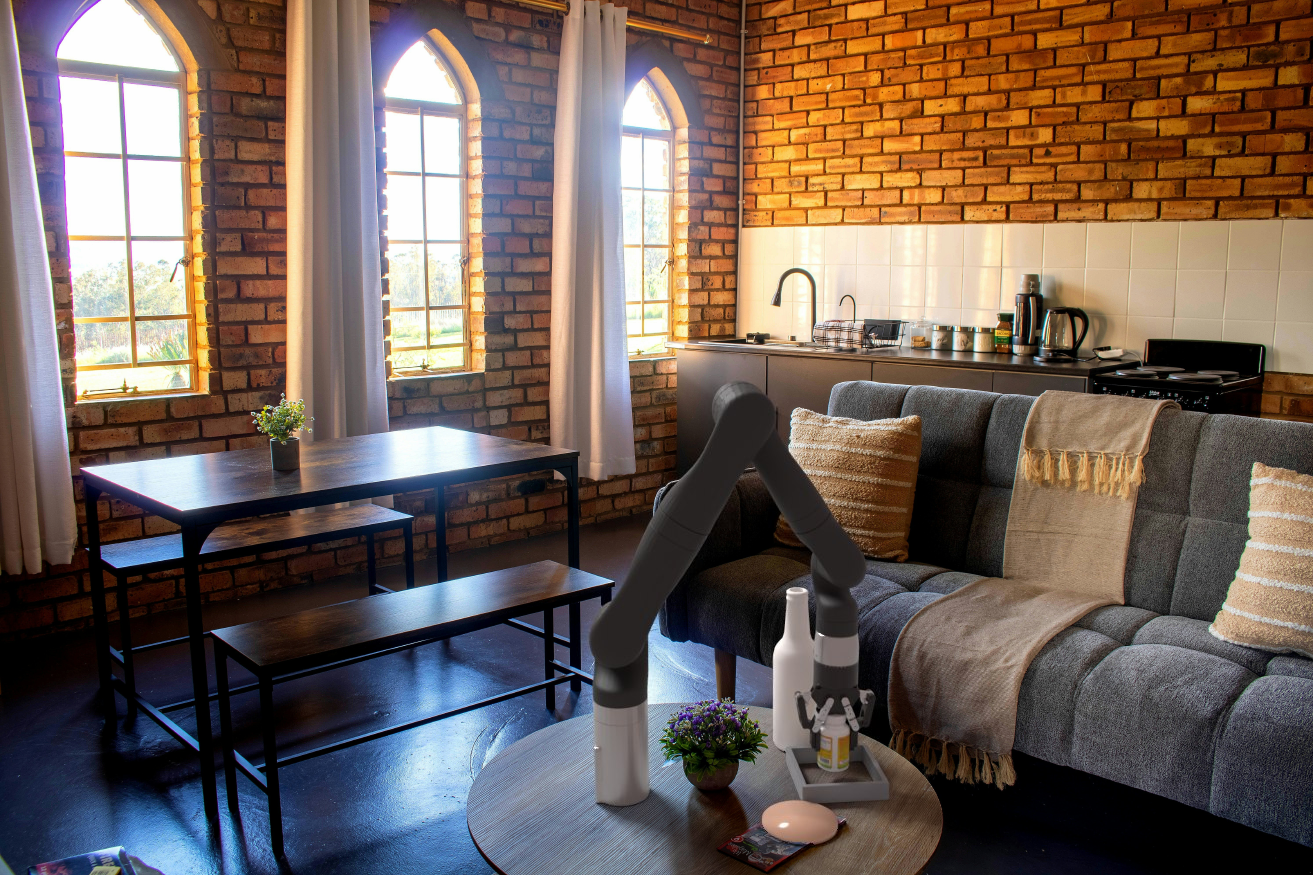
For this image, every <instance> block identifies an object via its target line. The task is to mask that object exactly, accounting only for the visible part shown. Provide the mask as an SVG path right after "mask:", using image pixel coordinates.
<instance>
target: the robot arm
mask: <svg viewBox="0 0 1313 875" xmlns="http://www.w3.org/2000/svg"><path fill="white" fill-rule="evenodd" d="M711 412H712V413H711V414H712V419H713V421H714V423H715V426H714V428H713V431H712V432H711V435H710V437H709V439H708V441H707V443H706V445H705V447H704V449H703V451H702V452H701V454H700V457H699V458H698V459H697V460H696V462H695V463H694V464H693V466H692V467H691V468H690V469H688V471H687V472H686V473H685V474H684V475H683V476H682V477H681V478H680V479H679V480H678V481H677V482H676V483H675V484H674V485H673V486H672V487H671V488H670V490H669V491H668V492H667V493H666V495H665V496H664V497H663V499H662V500H661V502H660V503H659V505H658V507H657V508H656V510H655V511H654V514H653V516H652V518H651V519H650V521H649V522H648V525H647V527H646V529H645V531H644V534H643V535H642V538H641V539H640V542H639V544H638V546H637V549H636V552H635V554H634V556H633V559H632V562H631V565H630V567H629V569H628V572H627V574H626V577H625V579H624V581H623V583H622V584H621V586H620V588H619V589H618V591H617V592H616V593H615V595H614V596H613V598H612V599H611V600H610V601H608V602H607V603H605V604H603V605H602V606H601V607H600V608H599V609H598V611H597V613H596V614H595V616H594V618H593V621H592V623H591V626H590V629H589V634H588V645H589V646H588V647H589V649H590V652H591V655H592V657H593V658H594V664H593V665H594V666H593V678H592V707H593V708H592V709H593V710H592V711H593V755H594V756H593V757H594V758H593V759H594V760H593V761H594V792H595V794H594V795H595V803H603V804H606V805H609V806H614V807H615V806H617V807H627V806H632V805H636V804H638V803H641V802H643V801H644V800H646V799H647V798H648V796H649V795H650V792H651V791H650V753H649V752H650V751H649V749H650V747H649V743H650V742H649V738H650V737H649V702H648V701H649V698H648V696H649V694H648V693H649V692H648V691H649V690H648V688H649V686H648V685H649V669H650V668H649V634H650V632H651V630H652V627H653V624H654V623H655V621H656V620H657V616H658V615H659V613H660V611H661V609H662V606H663V605H664V603H665V602H666V600H667V599H668V597H669V595H671V593H672V592H673V590H674V589H675V587H676V586H677V585H678V583H679V582H680V581H681V579H682V578H683V576H684V575H685V573H686V572H687V570H688V569H689V567H690V565H691V564H692V562H693V561H694V560H695V558H696V557H697V555H698V553H699V552H700V550H701V548H702V547H703V545H704V543H705V542H706V540H707V539H708V538H707V537H708V536H709V534H710V533H711V531H712V529H713V527H714V525H715V523H716V521H717V520H718V519H719V517H720V514H721V513H722V511H723V509H724V507H725V505H726V504H727V502H728V500H729V498H730V496H731V495H732V493H733V490H734V488H735V487H736V485H737V483H738V482H739V480H740V478H741V477H742V475H743V474H744V473H745V471H746V470H747V468H748V466H749V465H750V464H752V465H753V467H754V470H756V472H757V474H758V476H760V478H761V480H762V481H763V483H764V485H765V487H766V488H767V490H768V492H769V494H770V496H771V498H772V499H773V501H774V503H775V505H776V506H777V508H778V509H779V512H780V513H781V515H782V516H783V517H784V519H785V521H786V522H787V524H788V525H789V527H790V528H791V530H792V532H793V533H794V534H795V536H796V538H798V540H799V541H800V542H802V543H803V544H804V545H805V546H806V547H807V548H808V549H809V550H810V551H811V552H812V555H811V557H810V558H811V559H810V572H811V573H810V574H811V575H810V576H811V580H812V586H813V587H812V588H813V593H814V598H815V601H816V602H815V604H816V612H815V614H816V618H815V634H814V639H813V641H814V649H813V654H814V668H813V686H812V688H811V690H810V691H809V692H804V693H801V692H800V691H796V692H795V700H796V706H797V711H798V716H799V721H800V723H801V725H802V728H803V729H809V730H810V745H811V747H812V749H814V750H815V752H819V751H820V731H819V729H820V727H821V725H822V723H823V722H824V721H825V719H826V717H827V715H832V714H845V713H846V720H847V721H848V724H849V725H848V726H849V729H850V741H849V751H854V747H857V745H858V743H859V742H858V741H859V730H860V729H861V728H869V726H870V725H871V722H872V716H873V713H874V712H873V711H874V709H875V708H874V707H875V703H876V699H877V698H876V695H875V693H874V692H873V691H872V690H871V689H869V688H867V689H866V690H863V689H860V688H859V687H858V685H859V654H860V652H859V651H860V644H859V642H860V641H859V633H858V632H859V606H858V603H857V601H856V599H855V598H854V596H853V595H852V593H851V589H853V588H856V587H857V586H859V585H860V584H861V583H862V582H863V581H864V579H865V577H866V575H867V567H868V566H867V561H866V558H865V555H864V553H863V552H862V550H861V548H860V547H859V546H858V545H857V544H856V542H855V540H853V539H852V537H851V536H850V535H849V534H848V533H847V531H846V530H845V529H844V528H843V526H841V525H840V523H839V522H838V520H836V518H835V516H834V514H833V512H832V511H831V509H830V507H829V506H828V504H827V503H826V501H825V499H824V498H823V496H822V495H821V493H820V492H819V490H818V489H817V488H816V486H815V485H814V483H813V481H812V480H811V479H810V477H809V476H808V475H807V473H806V472H805V470H804V469H803V468H802V467H801V465H800V464H799V463H798V462H797V460H796V459H795V458H794V456H793V455H792V453H791V452H790V451H789V449H788V447H787V445H786V444H785V443H784V441H783V439H782V437H781V436H780V434H779V432H778V430H777V429H776V426H775V425H776V421H777V412H776V407H775V404H774V402H773V401H772V400H771V398H770V397H769V396H768V395H767V394H766V393H765V392H764V391H763V390H762V389H761V388H760V387H758V386H757V385H755V384H753V383H751V382H748V381H745V380H744V381H743V380H733V381H730V382H727V383H726V384H725V383H724V385H722V386H721V387H720V388H719V389H718V390H717V392H715V395H713V399H712V404H711ZM811 698H812V699H813V700H814V701H815V703H816V706H815V708H814V712H813V715H812V718H811V720H810V719H808V717H807V712H806V706H807V705H808V704H809V700H810V699H811ZM859 698H860V701H861V703H862V704H861V707H860V713H859V716H858V717H857V718H856V715H855V712H854V710H853V706H854V705H855V703H856V702H857V701H858V699H859Z"/></svg>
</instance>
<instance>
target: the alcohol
mask: <svg viewBox="0 0 1313 875" xmlns="http://www.w3.org/2000/svg"><path fill="white" fill-rule="evenodd" d="M785 597H786V608H785V610H786V611H785V624H784V633H783V636H782V638H781V639H780V640H779V641H778V642H777V643H776V645H775V647H774V651H773V655H772V668H773V669H772V686H773V687H772V740H773V743H774V745H775V746H776V748H777V749H778V750H780V751H782V752H784V751H785V753H786V747H788V746H810V730H809V729H803V728H802V725H801V723H800V721H799V716H798V711H797V706H796V700H795V692H796V691H800V692H801V693H804V692H809V691H810V690H811V688H812V686H813V668H814V654H813V649H814V639H813V638H812V635H811V630H810V617H809V616H810V615H809V602H808V601H809V590H808V589H807V588H804V587H799V586H798V587H797V586H795V587H790V588H788V589H786V596H785ZM815 706H816V703H815V701H814V700H813V699H812V698H811V699H810V700H809V704H808V705H807V706H806V712H807V717H808V719H810V720H811V718H812V715H813V712H814V708H815Z"/></svg>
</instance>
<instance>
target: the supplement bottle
mask: <svg viewBox="0 0 1313 875" xmlns="http://www.w3.org/2000/svg"><path fill="white" fill-rule="evenodd" d="M846 721H847V717H846V713H845V714H832V715H827V717H826V719H825V721H824V722H823V723H822V725H821V727H820V729H819V731H820V751H819V752H818V763H817V765H818V767H819V768H820V769H822V770H824V771H826V772H830V773H836V772H837V773H840V772H843V771H845V770H847V769H848V768H849V765H850V761H849V741H850V729H849V725H848V723H846Z"/></svg>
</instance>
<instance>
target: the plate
mask: <svg viewBox="0 0 1313 875" xmlns="http://www.w3.org/2000/svg"><path fill="white" fill-rule="evenodd" d="M761 825H763V826H762V828H763V827H764V828H763V830H764V829H765V830H766V831H767V832H768V833H770V834H771V835H772V836H775V837H777V838H779V839H781V840H785V841H790V842H791V841H792V842H802V843H805V842H811V843H813V844H814V845H818V844H822V843H824V842H827V841H829V840H831V839H832V838H834V836H836V835H837V832H838V830H839V829H838V828H839V821H838V818H837V815H836V814H835V813H834V811H832V810H831V809H829V808H828V807H826V806H824V805H821V804H820V803H813V802H808V801H801V800H794V799H792V800H785V801H780V802H776V803H775V804H772V805H770V806H768V807H767V808H766V809H765V810H764V811H763V813H762V816H761ZM837 829H838V830H837ZM765 830H764V831H765ZM766 831H765V832H766ZM767 832H766V833H767ZM768 833H767V834H768Z"/></svg>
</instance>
